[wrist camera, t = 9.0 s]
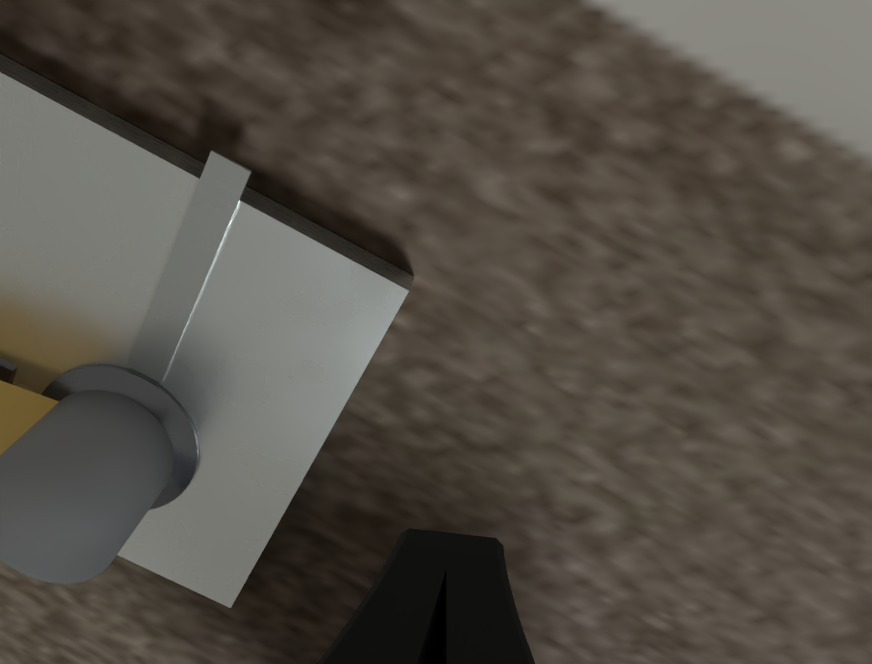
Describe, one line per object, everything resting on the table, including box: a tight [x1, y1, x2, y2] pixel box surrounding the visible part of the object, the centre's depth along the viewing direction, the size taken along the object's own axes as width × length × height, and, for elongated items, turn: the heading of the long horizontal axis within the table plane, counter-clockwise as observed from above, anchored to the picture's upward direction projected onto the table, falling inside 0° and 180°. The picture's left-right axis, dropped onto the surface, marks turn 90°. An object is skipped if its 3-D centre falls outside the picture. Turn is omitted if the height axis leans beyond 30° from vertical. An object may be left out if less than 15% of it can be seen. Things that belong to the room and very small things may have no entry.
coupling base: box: [0, 54, 414, 608], centre depth 21 cm, size 13×16×1 cm
